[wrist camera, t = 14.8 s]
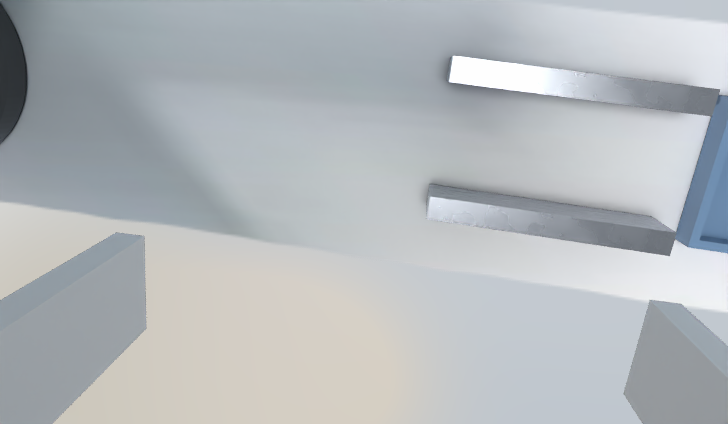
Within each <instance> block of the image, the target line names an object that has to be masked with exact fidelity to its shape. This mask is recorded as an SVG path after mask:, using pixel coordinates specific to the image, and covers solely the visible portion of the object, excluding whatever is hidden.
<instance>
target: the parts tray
mask: <svg viewBox="0 0 728 424" xmlns="http://www.w3.org/2000/svg"><path fill="white" fill-rule="evenodd" d="M676 233H677V234H676V237H675V239H677V240H678V241H680V242H681V243H682V244H684V245H685V246H687V247H690V248H697V249H703V250H710V251H717V252H723V253H728V96H722V95H718V99H717V102H716V105H715V108H714V112H713V115H712V117H711V120H710V123H709V127H708V130H707V133H706V137H705V140H704V143H703V146H702V150H701V153H700V156H699V160H698V163H697V166H696V170H695V173H694V176H693V179H692V183H691V186H690V189H689V193H688V196H687V199H686V203H685V206H684V209H683V212H682V216H681V219H680V222H679V226H678V229H677V232H676Z"/></svg>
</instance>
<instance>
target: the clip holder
mask: <svg viewBox="0 0 728 424" xmlns="http://www.w3.org/2000/svg"><path fill="white" fill-rule="evenodd" d="M447 81H448V82H453V83H461V84H468V85H476V86H484V87H491V88H499V89H506V90H514V91H522V92H529V93H537V94H545V95H552V96H560V97H568V98H575V99H583V100H591V101H598V102H606V103H613V104H621V105H629V106H636V107H644V108H652V109H659V110H667V111H675V112H682V113H690V114H698V115H705V116H712V115H713V112H714V108H715V105H716V102H717V99H718V95H719V92H720V89H712V88H704V87H696V86H688V85H680V84H672V83H664V82H657V81H649V80H641V79H633V78H625V77H617V76H609V75H601V74H593V73H586V72H578V71H570V70H562V69H554V68H546V67H538V66H530V65H522V64H515V63H507V62H499V61H491V60H483V59H475V58H467V57H459V56H452V57H451V58H450V64H449V70H448V76H447ZM427 219H430V220H436V221H443V222H449V223H456V224H463V225H469V226H476V227H482V228H489V229H496V230H502V231H509V232H515V233H522V234H528V235H535V236H542V237H548V238H555V239H561V240H568V241H575V242H581V243H588V244H594V245H601V246H607V247H614V248H621V249H627V250H634V251H640V252H647V253H653V254H660V255H667V256H670V253H671V250H672V247H673V243H674V240H675V237H676V234H677V233H676V232H675V231H673V230H671V229H670V228H668V227H667V226H665V225H664V224H662V223H661V222H659V221H658V220H656V219H655V218H653V217H651V216H645V215H638V214H632V213H625V212H618V211H611V210H604V209H597V208H591V207H584V206H577V205H570V204H563V203H556V202H550V201H543V200H536V199H529V198H522V197H516V196H509V195H502V194H495V193H488V192H481V191H475V190H468V189H461V188H454V187H447V186H441V185H434V184H430V187H429V193H428V199H427Z"/></svg>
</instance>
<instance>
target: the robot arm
mask: <svg viewBox="0 0 728 424" xmlns="http://www.w3.org/2000/svg"><path fill="white" fill-rule="evenodd" d="M25 90H26V70H25V62H24V57H23V52H22V48H21V45H20V42H19V39H18V36H17V34H16V31H15V29H14V27H13V25H12V23H11V21H10V19H9V17H8V16H7V14H6V12H5V11H4V9H3V8H2V6H1V5H0V142H1V141H2V140H3V139H4V138H5V137H6V136H7V135H8V134H9V133H10V131H11V130H12V129H13V127H14V125H15V124H16V122H17V120H18V118H19V115H20V113H21V110H22V106H23V103H24V98H25ZM145 329H146V292H145V244H144V236H140V235H132V234H124V233H115V234H113V235H111V236H110V237H108V238H106V239H105V240H103V241H101V242H99V243H98V244H96V245H94V246H92V247H91V248H89V249H87V250H86V251H84V252H82V253H80V254H79V255H77V256H75V257H74V258H72V259H70V260H69V261H67V262H65V263H63V264H62V265H60V266H58V267H57V268H55V269H53V270H51V271H50V272H48V273H46V274H45V275H43V276H41V277H39V278H38V279H36V280H34V281H33V282H31V283H29V284H27V285H26V286H24V287H22V288H20V289H19V290H17V291H15V292H14V293H12V294H10V295H8V296H7V297H5V298H3V299H2V300H0V424H53V423H54V421H55V420H56V419H57V418H58V417H59V416H60V415H61V414H62V413H63V412H64V411H65V410H66V409H67V408H68V407H69V406H70V405H71V404H72V403H73V402H74V401H75V400H76V399H77V398H78V397H79V396H80V395H81V394H82V393H83V392H84V391H85V390H86V389H87V388H88V387H89V386H90V385H91V384H92V383H93V382H94V381H95V380H96V379H97V378H98V377H99V376H100V375H101V374H102V373H103V372H104V371H105V370H106V369H107V368H108V367H109V366H110V365H111V364H112V363H113V362H114V361H115V360H116V359H117V358H118V357H119V356H120V355H121V354H122V353H123V352H124V350H126V349H127V348H128V347H129V346H130V345H131V343H133V341H135V340H136V338H138V336H139V335H140V334H141V333H142V332H143V331H144V330H145ZM624 395H625V396H626V398H627V400H628V402H629V403H630V405H631V406H632V408H633V409H634V411H635V412H636V414H637V416H638V417H639V419H640V420H641V421H642V423H643V424H728V346H727V345H726V344H725V343H724V342H723V341H721V339H720V338H718V337H717V336H716V335H715V334H714V333H713V332H712V331H711V330H710V329H708V328H707V327H706V326H705V325H704V324H703V323H702V322H701V321H700V320H698V319H697V318H696V317H695V316H694V315H693V314H691V312H689V311H688V310H687V309H686V308H685V307H684V306H683V305H682V304H678V303H670V302H662V301H654V300H650V301H649V305H648V309H647V312H646V316H645V319H644V323H643V326H642V330H641V333H640V337H639V340H638V344H637V348H636V351H635V355H634V358H633V362H632V365H631V369H630V373H629V376H628V380H627V383H626V387H625V390H624Z"/></svg>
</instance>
